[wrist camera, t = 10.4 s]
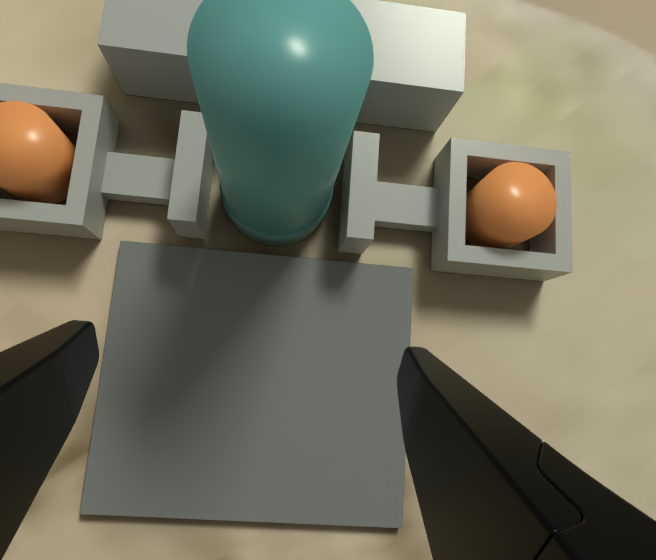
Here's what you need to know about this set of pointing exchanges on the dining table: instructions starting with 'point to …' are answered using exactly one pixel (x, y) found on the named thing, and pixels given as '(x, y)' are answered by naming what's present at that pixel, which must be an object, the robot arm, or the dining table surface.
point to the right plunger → (509, 206)
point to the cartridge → (279, 105)
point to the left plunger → (33, 154)
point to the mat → (250, 389)
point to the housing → (359, 162)
